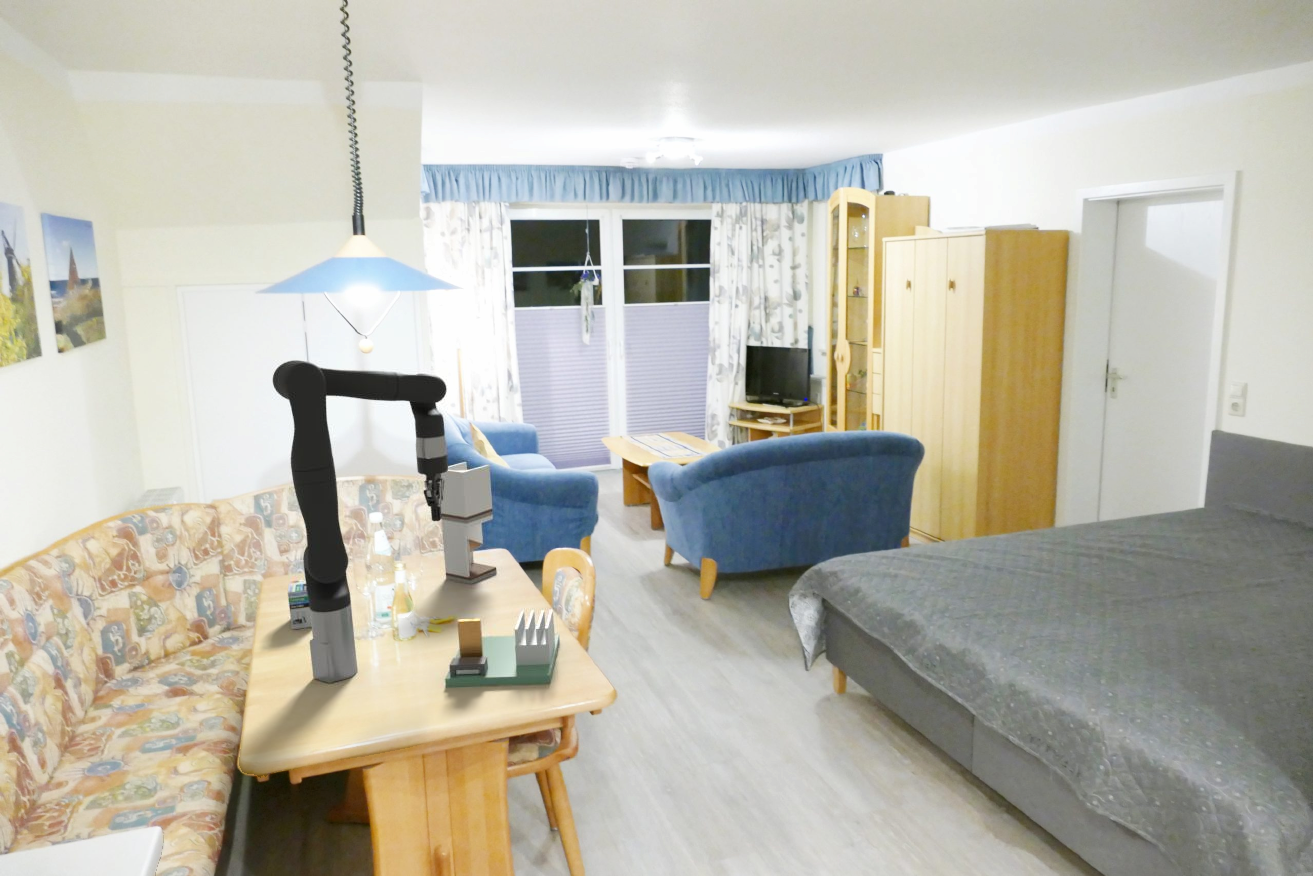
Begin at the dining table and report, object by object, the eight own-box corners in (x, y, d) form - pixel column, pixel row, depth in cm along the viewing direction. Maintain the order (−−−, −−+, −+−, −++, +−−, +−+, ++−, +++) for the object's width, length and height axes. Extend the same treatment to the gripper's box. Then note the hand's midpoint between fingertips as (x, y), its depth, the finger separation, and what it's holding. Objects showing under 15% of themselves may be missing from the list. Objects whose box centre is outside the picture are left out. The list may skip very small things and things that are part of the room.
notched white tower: (470, 584, 278) (462, 472, 272) (446, 578, 284) (437, 469, 278) (496, 573, 288) (489, 465, 281) (472, 568, 293) (464, 462, 287)
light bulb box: (317, 626, 248) (313, 589, 247) (291, 630, 246) (286, 592, 244) (318, 613, 258) (314, 577, 256) (292, 617, 256) (288, 580, 254)
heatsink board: (465, 644, 233) (462, 603, 231) (559, 641, 233) (557, 600, 231) (445, 687, 210) (442, 642, 208) (550, 683, 210) (547, 638, 208)
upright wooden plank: (461, 663, 216) (458, 619, 214) (483, 662, 216) (480, 618, 214) (456, 674, 211) (453, 629, 209) (479, 673, 211) (476, 628, 209)
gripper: (423, 448, 235) (428, 514, 238) (410, 459, 222) (415, 528, 225) (452, 448, 235) (456, 513, 238) (441, 458, 222) (446, 527, 225)
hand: (436, 520), depth 232 cm, fingers closed
